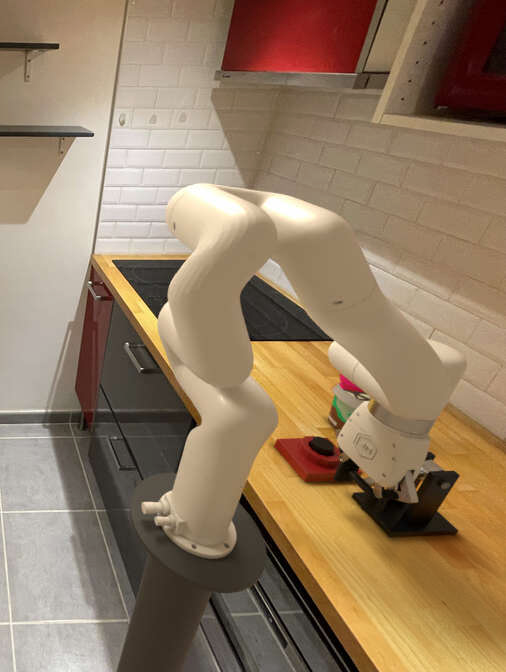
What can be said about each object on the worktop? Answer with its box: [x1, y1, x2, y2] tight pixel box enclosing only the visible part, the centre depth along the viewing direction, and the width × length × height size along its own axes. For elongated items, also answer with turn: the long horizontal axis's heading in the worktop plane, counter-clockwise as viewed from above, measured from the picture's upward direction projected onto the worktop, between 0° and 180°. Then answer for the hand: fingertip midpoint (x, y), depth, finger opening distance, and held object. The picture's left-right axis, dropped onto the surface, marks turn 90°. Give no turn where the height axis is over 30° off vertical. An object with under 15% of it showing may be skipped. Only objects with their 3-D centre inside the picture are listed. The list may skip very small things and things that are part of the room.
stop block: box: [274, 435, 364, 483], centre depth 90 cm, size 11×9×4 cm
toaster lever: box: [346, 460, 445, 495], centre depth 76 cm, size 13×5×2 cm, turn 92°
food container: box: [327, 383, 371, 430], centre depth 96 cm, size 12×6×10 cm, turn 65°
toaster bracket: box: [351, 451, 461, 538], centre depth 77 cm, size 12×8×13 cm, turn 92°
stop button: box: [310, 436, 335, 456], centre depth 89 cm, size 4×4×2 cm
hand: (356, 493), depth 77 cm, fingers closed on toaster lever, 5 cm apart
